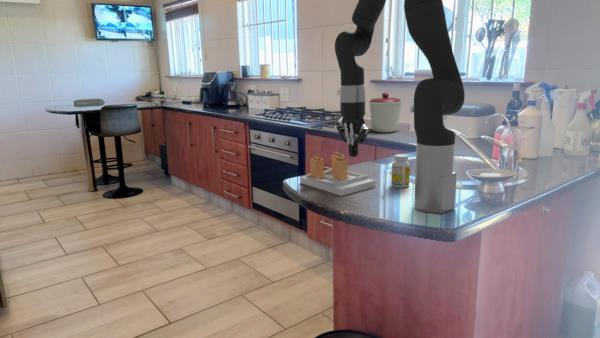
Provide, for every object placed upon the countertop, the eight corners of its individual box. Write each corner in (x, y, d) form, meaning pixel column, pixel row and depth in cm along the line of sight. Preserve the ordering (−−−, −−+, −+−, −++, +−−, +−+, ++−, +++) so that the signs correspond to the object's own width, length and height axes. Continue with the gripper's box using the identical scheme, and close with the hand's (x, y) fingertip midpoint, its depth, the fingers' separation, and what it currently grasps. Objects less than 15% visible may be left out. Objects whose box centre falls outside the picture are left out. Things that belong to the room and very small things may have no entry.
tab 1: (323, 177, 136) (323, 157, 135) (316, 179, 135) (316, 158, 133) (317, 175, 139) (317, 155, 137) (310, 177, 137) (309, 157, 135)
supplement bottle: (394, 188, 131) (395, 157, 128) (389, 183, 136) (389, 154, 134) (411, 187, 131) (412, 156, 129) (405, 182, 136) (406, 153, 134)
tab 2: (344, 172, 142) (344, 153, 140) (337, 174, 140) (337, 154, 138) (338, 171, 144) (338, 151, 142) (331, 172, 142) (331, 153, 141)
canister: (407, 130, 237) (409, 91, 232) (390, 135, 224) (390, 94, 219) (379, 128, 249) (380, 91, 244) (361, 132, 236) (361, 93, 231)
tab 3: (347, 178, 134) (347, 158, 133) (340, 180, 133) (340, 159, 131) (340, 176, 137) (340, 156, 135) (333, 178, 135) (333, 158, 133)
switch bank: (374, 186, 133) (375, 176, 132) (341, 196, 125) (341, 184, 124) (333, 175, 148) (333, 165, 147) (301, 183, 140) (301, 172, 139)
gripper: (377, 100, 128) (377, 157, 132) (346, 98, 138) (347, 152, 142) (359, 102, 123) (360, 161, 127) (328, 100, 134) (330, 155, 138)
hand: (353, 156), depth 135 cm, fingers closed
